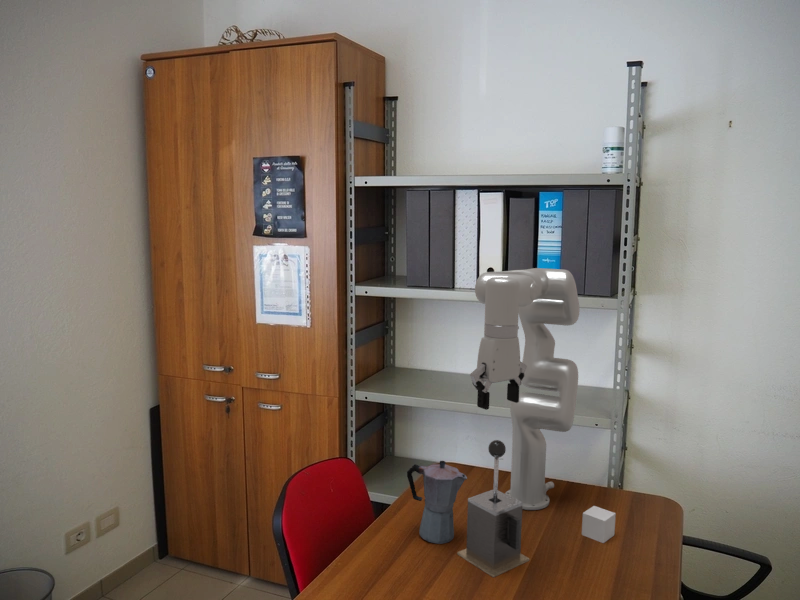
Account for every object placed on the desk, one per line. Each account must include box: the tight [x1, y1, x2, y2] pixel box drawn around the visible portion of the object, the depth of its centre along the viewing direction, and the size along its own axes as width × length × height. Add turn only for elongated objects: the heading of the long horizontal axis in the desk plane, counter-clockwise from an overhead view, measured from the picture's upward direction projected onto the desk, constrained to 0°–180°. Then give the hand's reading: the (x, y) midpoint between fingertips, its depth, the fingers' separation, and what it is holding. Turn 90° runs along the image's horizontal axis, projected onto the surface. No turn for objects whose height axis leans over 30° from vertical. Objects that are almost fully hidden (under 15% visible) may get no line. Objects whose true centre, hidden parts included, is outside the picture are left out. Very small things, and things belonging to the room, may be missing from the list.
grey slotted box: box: [456, 489, 530, 578], centre depth 148 cm, size 12×13×14 cm
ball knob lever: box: [487, 439, 507, 503], centre depth 146 cm, size 6×6×17 cm
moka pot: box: [406, 460, 468, 545], centre depth 158 cm, size 10×15×20 cm, turn 78°
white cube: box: [581, 505, 617, 544], centre depth 160 cm, size 6×6×6 cm
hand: (498, 404), depth 144 cm, fingers open, 9 cm apart
